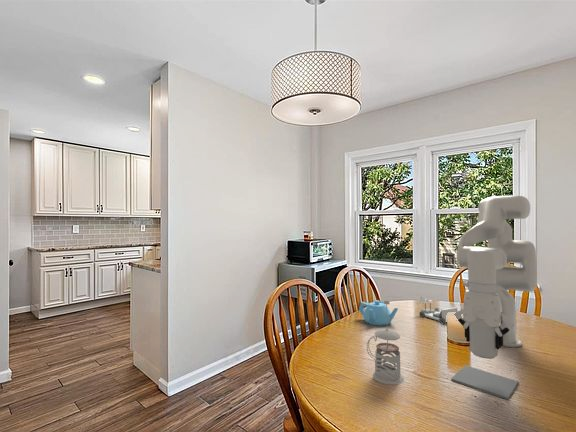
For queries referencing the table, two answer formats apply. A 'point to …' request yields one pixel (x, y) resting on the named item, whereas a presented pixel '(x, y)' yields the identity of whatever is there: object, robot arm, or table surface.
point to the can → (482, 339)
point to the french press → (387, 357)
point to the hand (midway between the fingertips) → (483, 343)
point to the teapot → (377, 313)
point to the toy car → (435, 312)
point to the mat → (486, 382)
